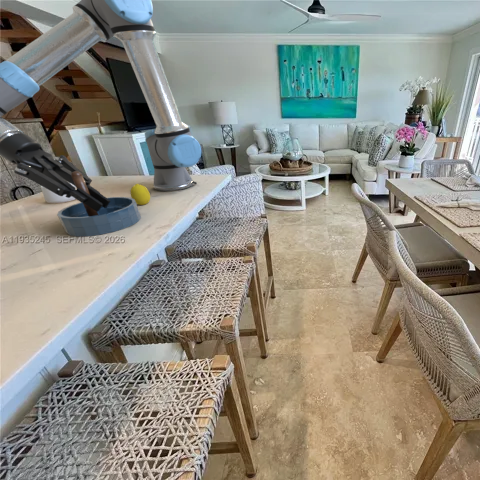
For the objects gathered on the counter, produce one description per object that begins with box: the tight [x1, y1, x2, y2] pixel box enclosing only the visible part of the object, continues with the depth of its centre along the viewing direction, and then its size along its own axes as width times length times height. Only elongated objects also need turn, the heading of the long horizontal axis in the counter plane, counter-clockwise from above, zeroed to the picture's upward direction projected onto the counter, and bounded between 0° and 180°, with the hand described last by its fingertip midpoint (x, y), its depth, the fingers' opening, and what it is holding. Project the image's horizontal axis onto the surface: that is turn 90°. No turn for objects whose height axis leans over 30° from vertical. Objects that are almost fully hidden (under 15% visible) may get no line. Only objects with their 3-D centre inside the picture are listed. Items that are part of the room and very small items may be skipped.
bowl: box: [56, 196, 142, 237], centre depth 76 cm, size 18×18×6 cm
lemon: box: [129, 183, 151, 206], centre depth 91 cm, size 6×6×8 cm
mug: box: [40, 181, 77, 204], centre depth 98 cm, size 12×10×6 cm
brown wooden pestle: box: [71, 171, 98, 216], centre depth 72 cm, size 6×6×15 cm
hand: (103, 206), depth 73 cm, fingers closed on brown wooden pestle, 2 cm apart
